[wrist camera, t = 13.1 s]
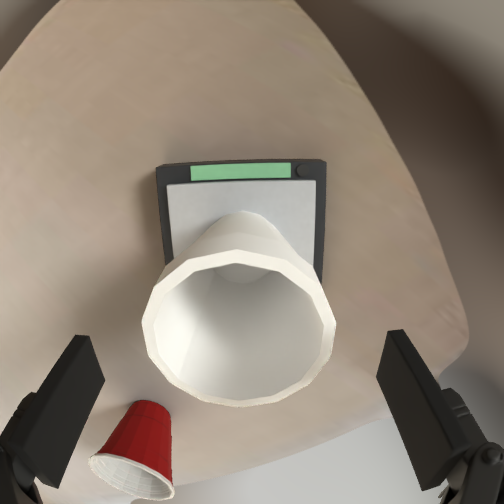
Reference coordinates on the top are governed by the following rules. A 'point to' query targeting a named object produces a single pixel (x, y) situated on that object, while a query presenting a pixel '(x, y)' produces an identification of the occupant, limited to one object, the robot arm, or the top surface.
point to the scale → (244, 201)
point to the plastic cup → (138, 453)
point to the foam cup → (239, 316)
